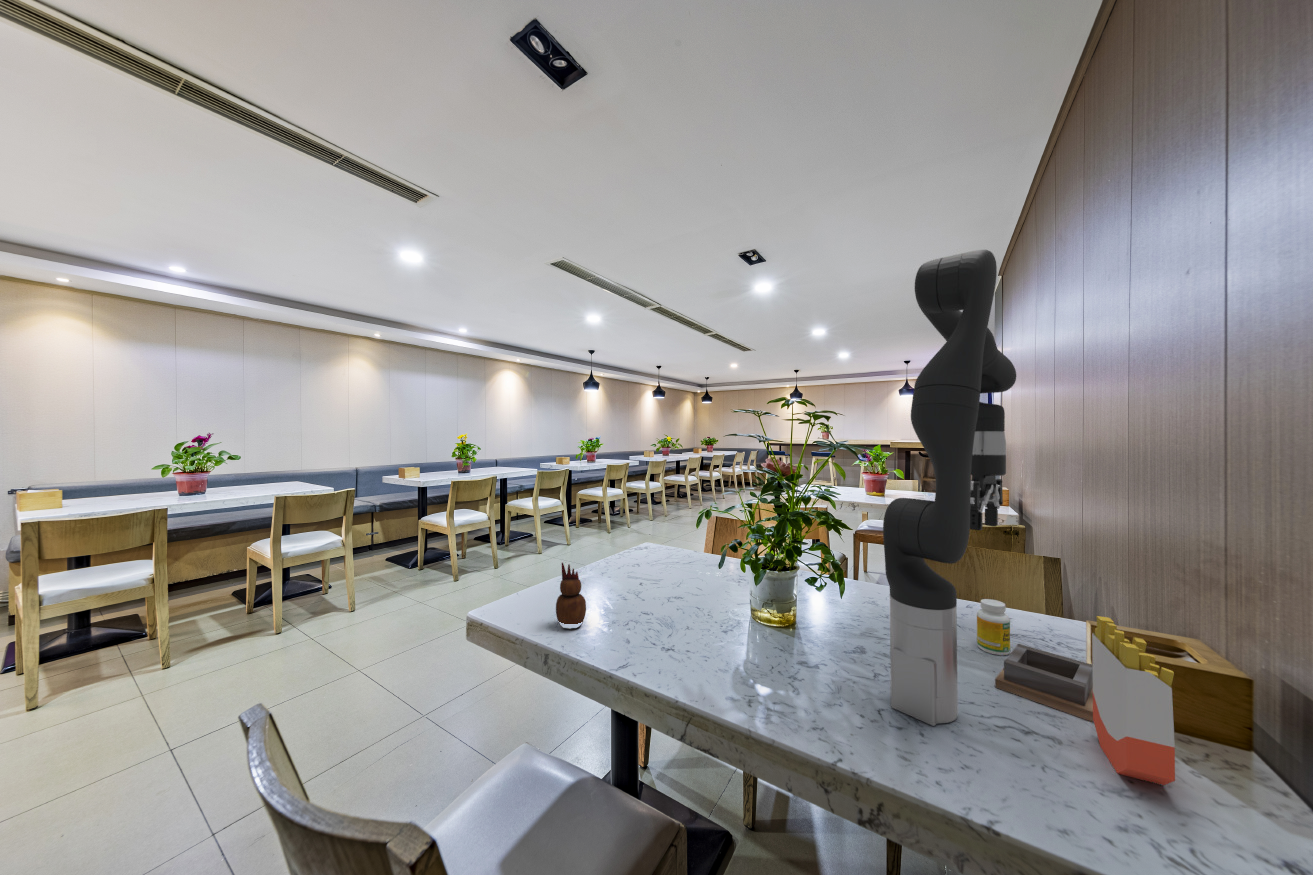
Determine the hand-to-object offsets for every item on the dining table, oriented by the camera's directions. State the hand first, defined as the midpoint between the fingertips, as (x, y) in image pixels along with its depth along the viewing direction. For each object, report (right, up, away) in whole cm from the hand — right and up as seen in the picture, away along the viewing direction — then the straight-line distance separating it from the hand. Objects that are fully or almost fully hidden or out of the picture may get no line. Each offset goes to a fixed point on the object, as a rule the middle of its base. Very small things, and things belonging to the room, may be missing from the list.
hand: (983, 527), depth 95 cm
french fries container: (-8, -24, -37) cm, 45 cm away
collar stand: (-4, -24, -20) cm, 31 cm away
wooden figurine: (-91, -25, +7) cm, 94 cm away
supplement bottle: (-2, -24, -6) cm, 25 cm away
